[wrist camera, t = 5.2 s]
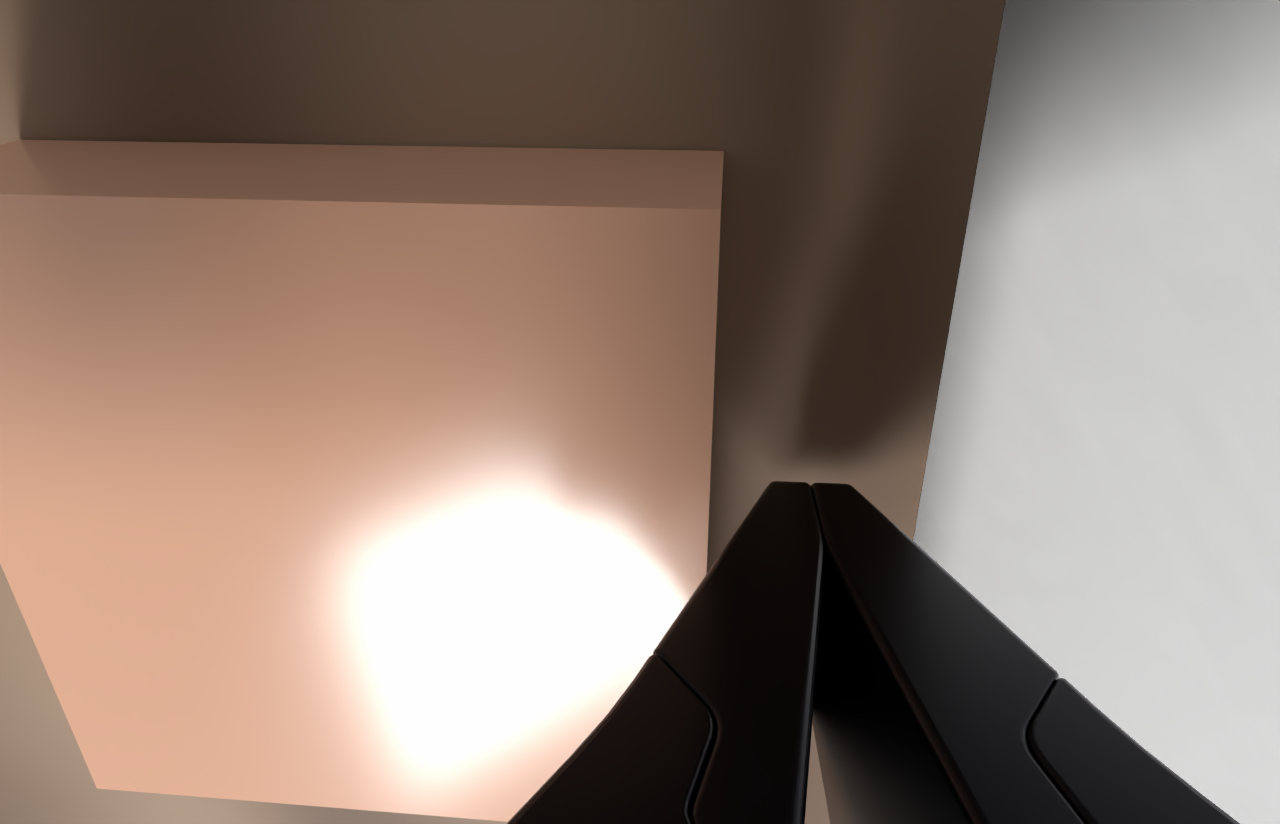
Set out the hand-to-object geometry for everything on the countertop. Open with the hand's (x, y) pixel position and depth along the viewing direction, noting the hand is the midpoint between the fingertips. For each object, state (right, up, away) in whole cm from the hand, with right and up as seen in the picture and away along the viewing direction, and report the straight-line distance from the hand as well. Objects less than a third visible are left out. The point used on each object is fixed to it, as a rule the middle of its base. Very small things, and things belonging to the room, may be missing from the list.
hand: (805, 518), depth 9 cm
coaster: (-4, +1, +1) cm, 5 cm away
